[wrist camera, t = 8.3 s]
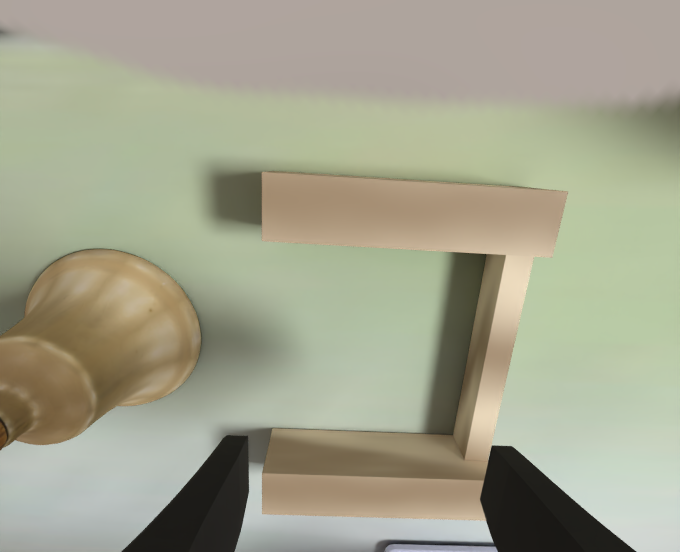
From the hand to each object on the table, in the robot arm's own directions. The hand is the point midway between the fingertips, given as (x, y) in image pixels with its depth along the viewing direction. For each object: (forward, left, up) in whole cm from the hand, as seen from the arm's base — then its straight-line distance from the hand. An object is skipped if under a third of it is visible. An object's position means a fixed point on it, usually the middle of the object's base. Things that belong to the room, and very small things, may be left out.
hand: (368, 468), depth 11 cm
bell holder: (0, -1, -8) cm, 8 cm away
